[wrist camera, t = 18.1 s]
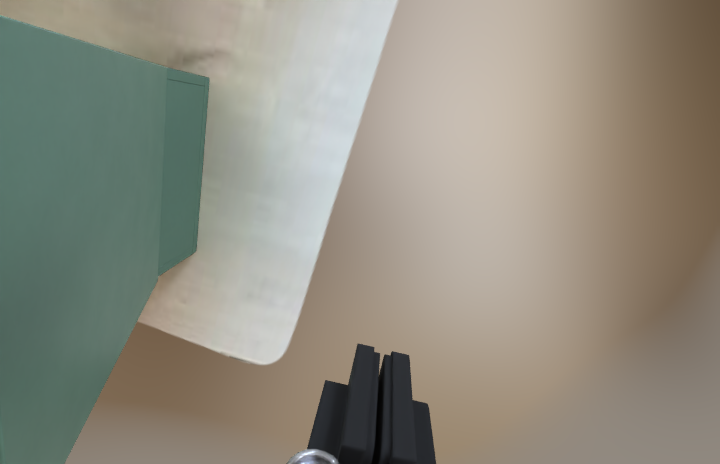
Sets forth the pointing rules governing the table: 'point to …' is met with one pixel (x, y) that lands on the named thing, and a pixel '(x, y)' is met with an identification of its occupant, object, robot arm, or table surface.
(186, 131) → the open green box
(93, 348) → the lid
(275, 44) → the table surface
